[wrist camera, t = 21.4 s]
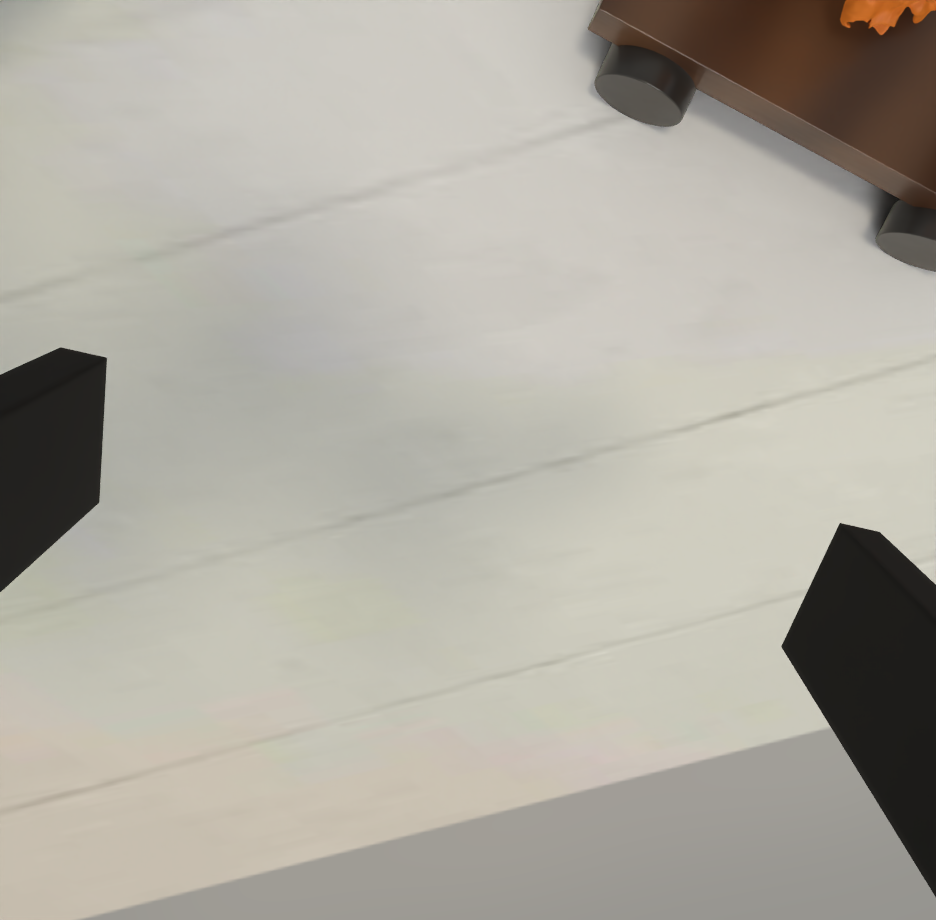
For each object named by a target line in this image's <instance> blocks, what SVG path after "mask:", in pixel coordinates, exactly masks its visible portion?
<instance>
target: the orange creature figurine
mask: <svg viewBox="0 0 936 920" xmlns="http://www.w3.org/2000/svg"><path fill="white" fill-rule="evenodd" d="M906 7H909V8H910V9H911V12H912V14H914V16H913V23H919V22H920V21H922V20H923V19H924V18H925V17H926V16H927V14H928V13H929V12H931V11H936V0H846V1H845V3H844V6H843V10H842V14H841V18H840V21H841V24H842V25H843V26H845V27H847V28H850V27H851V26H850V24H849V23H848V22H855V21H865V22H867V23H868V24H869V26H868V29H870V28H871V27H874V28H875V29H876V30H877V32H878V33H879V34H880V35H883V34H884V33H885V32H886V31H887V30H888V28H889V27H890V26H892V27H895V25H896V23H897V21H898V19H899V16H900V15H901V14H902V13H903V11H904V10H905V8H906Z"/></svg>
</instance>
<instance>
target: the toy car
mask: <svg viewBox="0 0 936 920" xmlns="http://www.w3.org/2000/svg"><path fill="white" fill-rule="evenodd" d="M845 1H846V0H600V2H599V5H598V7H597V9H596V11H595V13H594V16H593V18H592V20H591V22H590V24H589V27H588V30H590V31H591V32H593V33H595V34H597V35H599V36H601V37H602V38H604V39H606V40H608V41H610V42H612V45H611V47H610V49H609V51H608V53H607V55H606V58H605V60H604V62H603V64H602V66H601V68H600V71H599V73H598V75H597V77H596V79H595V88H596V90H597V92H598V93H599V95H600V96H601V97H602V98H603V99H604V100H605V101H606V102H607V103H608V104H609V105H611V106H612V107H613V108H615V109H616V110H618V111H619V112H621V113H623V114H625V115H627V116H629V117H631V118H633V119H635V120H638V121H640V122H643V123H647V124H650V125H655V126H664V127H668V126H674V125H677V124H678V123H680V122H681V120H682V118H683V116H684V114H685V112H686V110H687V108H688V106H689V104H690V102H691V99H692V97H693V95H694V93H695V91H696V89H698V90H700V91H702V92H704V93H706V94H707V95H709V96H711V97H713V98H715V99H717V100H718V101H720V102H722V103H724V104H726V105H728V106H729V107H731V108H733V109H735V110H737V111H739V112H741V113H742V114H744V115H746V116H748V117H750V118H752V119H753V120H755V121H757V122H759V123H761V124H763V125H764V126H766V127H768V128H770V129H772V130H774V131H775V132H777V133H779V134H781V135H783V136H785V137H787V138H788V139H790V140H792V141H794V142H796V143H798V144H799V145H801V146H803V147H805V148H807V149H809V150H810V151H812V152H814V153H816V154H818V155H820V156H822V157H823V158H825V159H827V160H829V161H831V162H833V163H834V164H836V165H838V166H840V167H842V168H844V169H845V170H847V171H849V172H851V173H853V174H855V175H857V176H858V177H860V178H862V179H864V180H866V181H868V182H869V183H871V184H873V185H875V186H877V187H879V188H880V189H882V190H884V191H886V192H888V193H890V194H891V195H893V196H895V197H897V198H899V199H901V200H899V201H897V202H896V203H895V204H894V205H893V206H892V208H891V210H890V212H889V214H888V216H887V218H886V220H885V222H884V224H883V225H882V227H881V229H880V231H879V233H878V235H877V237H876V243H877V245H878V246H879V247H880V248H881V249H882V250H883V251H884V252H886V253H887V254H889V255H890V256H892V257H894V258H896V259H898V260H900V261H902V262H905V263H907V264H910V265H913V266H916V267H919V268H922V269H926V270H931V271H936V11H931V12H929V13H928V14H927V16H926V17H925V18H924V19H923V20H922V21H920V22H919V23H913V16H914V14H912V12H911V9H910V8H909V7H906V8H905V10H904V11H903V13H902V14H901V15H900V16H899V19H898V21H897V23H896V25H895V27H892V26H890V27H889V28H888V30H887V31H886V32H885V33H884V34H883V35H880V34H879V33H878V32H877V30H876V29H875V28H874V27H871V28H870V29H868V26H869V24H868V23H867V22H865V21H855V22H848V23H849V24H850V26H851V27H850V28H847V27H845V26H843V25H842V24H841V21H840V18H841V14H842V10H843V6H844V3H845Z"/></svg>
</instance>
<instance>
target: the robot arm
mask: <svg viewBox="0 0 936 920" xmlns="http://www.w3.org/2000/svg"><path fill="white" fill-rule="evenodd" d="M106 364H107V358H105V357H101V356H96V355H92V354H87V353H83V352H78V351H74V350H70V349H65V348H58V349H56V350H54V351H52V352H50V353H47V354H45V355H43V356H41V357H38V358H36V359H34V360H32V361H30V362H27V363H25V364H23V365H21V366H19V367H16V368H14V369H12V370H10V371H8V372H5V373H3V374H1V375H0V592H1V591H2V590H3V589H4V588H5V587H7V586H8V585H9V584H10V583H11V582H12V581H13V580H14V579H15V578H16V577H18V576H19V575H20V574H21V573H22V572H23V571H24V570H25V569H26V568H27V567H29V566H30V565H31V564H32V563H33V562H34V561H35V560H36V559H37V558H39V557H40V556H41V555H42V554H43V553H44V552H45V551H46V550H47V549H48V548H50V547H51V546H52V545H53V544H54V543H55V542H56V541H57V540H58V539H59V538H61V537H62V536H63V535H64V534H65V533H66V532H67V531H68V530H69V529H70V528H72V527H73V526H74V525H75V524H76V523H77V522H78V521H79V520H80V519H82V518H83V517H84V516H85V515H86V514H87V513H88V512H89V511H90V510H91V509H93V508H94V507H95V506H96V505H97V504H98V503H99V496H100V477H101V458H102V440H103V421H104V402H105V383H106ZM781 647H782V648H783V650H784V652H785V653H786V655H787V657H788V658H789V660H790V661H791V663H792V665H793V666H794V668H795V670H796V671H797V673H798V674H799V676H800V678H801V679H802V681H803V683H804V684H805V686H806V687H807V689H808V691H809V692H810V694H811V695H812V697H813V699H814V700H815V702H816V704H817V705H818V707H819V708H820V710H821V712H822V713H823V715H824V717H825V718H826V720H827V721H828V723H829V725H830V726H831V728H832V730H833V731H834V732H835V734H836V736H837V738H838V739H839V741H840V742H841V744H842V746H843V747H844V749H845V751H846V752H847V754H848V755H849V757H850V759H851V760H852V762H853V764H854V765H855V767H856V768H857V770H858V772H859V773H860V775H861V776H862V778H863V780H864V781H865V783H866V785H867V786H868V788H869V790H870V791H871V793H872V794H873V796H874V798H875V799H876V801H877V802H878V804H879V806H880V807H881V809H882V811H883V812H884V814H885V815H886V817H887V819H888V820H889V822H890V823H891V825H892V827H893V828H894V830H895V832H896V833H897V835H898V837H899V838H900V840H901V841H902V843H903V845H904V846H905V848H906V850H907V851H908V853H909V854H910V856H911V857H912V859H913V861H914V863H915V864H916V866H917V867H918V869H919V871H920V872H921V874H922V875H923V877H924V879H925V880H926V882H927V883H928V885H929V887H930V888H931V890H932V892H933V893H934V895H935V896H936V585H935V584H934V583H933V582H932V581H931V580H930V579H929V578H928V577H927V576H926V575H925V574H924V573H923V572H922V571H921V570H919V569H918V568H917V567H916V566H915V565H914V564H913V563H912V562H911V561H910V560H909V559H908V558H907V557H906V556H905V555H903V554H902V553H901V552H900V551H899V550H898V549H897V548H896V547H895V546H894V545H893V544H892V543H891V542H890V541H889V540H887V539H886V538H885V537H884V536H883V535H882V534H881V533H880V532H877V531H873V530H868V529H864V528H859V527H855V526H850V525H846V524H841V523H840V524H839V526H838V528H837V530H836V533H835V535H834V537H833V539H832V541H831V543H830V545H829V547H828V549H827V552H826V554H825V556H824V558H823V560H822V562H821V564H820V566H819V568H818V571H817V573H816V575H815V577H814V579H813V581H812V583H811V585H810V587H809V589H808V592H807V594H806V596H805V598H804V600H803V602H802V604H801V606H800V608H799V611H798V613H797V615H796V617H795V619H794V621H793V623H792V625H791V627H790V630H789V632H788V634H787V636H786V638H785V640H784V642H783V644H782V646H781Z"/></svg>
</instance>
